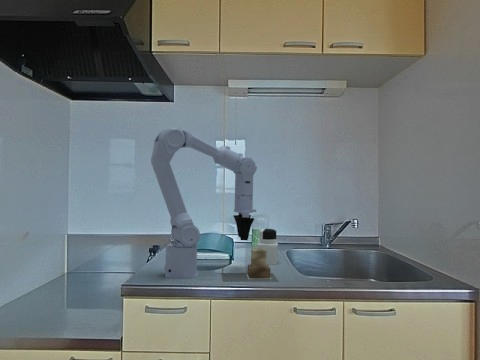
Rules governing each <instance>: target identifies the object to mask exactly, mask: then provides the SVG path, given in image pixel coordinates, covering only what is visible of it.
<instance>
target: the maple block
mask: <svg viewBox="0 0 480 360" xmlns="http://www.w3.org/2000/svg"><path fill="white" fill-rule="evenodd" d="M250 253H251V254H250V260H251V261H250V264H251V266H252V267H253V268H266V250H265V249H257V248H251V251H250Z"/></svg>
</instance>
